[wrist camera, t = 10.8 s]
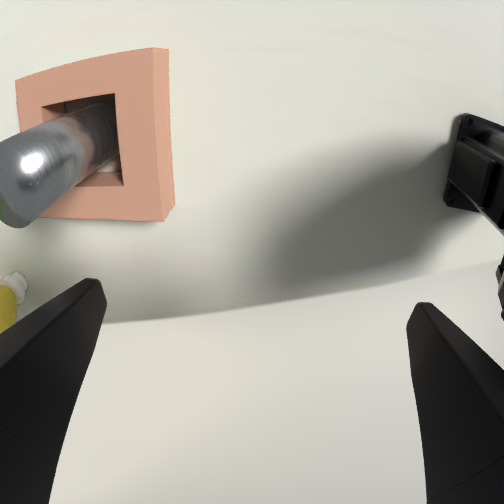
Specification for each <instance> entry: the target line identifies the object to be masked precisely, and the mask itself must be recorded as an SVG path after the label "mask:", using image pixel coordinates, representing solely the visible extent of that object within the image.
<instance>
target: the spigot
mask: <svg viewBox="0 0 504 504" xmlns="http://www.w3.org/2000/svg"><path fill="white" fill-rule="evenodd" d="M119 153H120V150H119V141H118V130H117V118H116V108H114V107H113V106H111V105H109V104H106V103H96V104H92V105H89V106H86V107H83V108H80V109H78V110H75V111H72V112H69V113H67V114H64V115H61V116H59V117H56V118H53V119H51V120H48V121H46V122H44V123H41V124H39V125H36V126H34V127H32V128H29V129H27V130H25V131H23V132H21V133H18V134H16V135H14V136H12V137H10V138H8V139H6V140H4V141H2V142H0V220H1V221H2V222H3V223H5V224H6V225H8V226H10V227H14V228H23V227H26V226H27V225H29V224H30V223H31V222H32V221H33V220H34V219H36V218H37V217H38V216H39V215H40V214H41V213H43V212H44V211H45V210H46V209H47V208H48V207H50V206H51V205H52V204H53V203H54V202H56V201H57V200H58V199H59V198H60V197H62V196H63V195H64V194H65V193H67V192H68V191H69V190H71V189H72V188H73V187H74V186H76V185H77V184H78V183H80V182H81V181H82V180H84V179H85V178H86V177H88V176H89V175H90V174H92V173H93V172H94V171H96V170H97V169H98V168H100V167H101V166H103V165H104V164H105V163H107V162H108V161H110V160H111V159H113V158H114V157H115V156H117V155H118V154H119Z"/></svg>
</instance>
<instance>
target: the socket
mask: <svg viewBox="0 0 504 504" xmlns="http://www.w3.org/2000/svg"><path fill="white" fill-rule="evenodd" d="M15 86H16V98H17V108H18V117H19V125H20V132H23V131H25V130H27V129H29V128H32V127H34V126H36V125H39V124H41V123H44V122H46V121H48V120H51V119H53V118H56V117H59V116H61V115H64V114H65V109H64V101H69V100H74V99H80V98H85V97H91V96H98V95H104V94H111V93H115V104H116V118H117V130H118V141H119V150H120V159H121V167H122V172H99V173H92V174H90V175H89V176H88V177H86V178H85V179H84V180H82V181H81V182H80V183H78V184H77V185H76V186H74V187H73V188H72V189H71V190H69V191H68V192H67V193H65V194H64V195H63V196H62V197H60V198H59V199H58V200H57V201H56V202H54V203H53V204H52V205H51V206H50V207H48V208H47V209H46V210H45V211H44V212H43V213H41V214H40V215H39V217H41V218H78V219H107V220H132V221H154V222H164V220H165V218H166V217H167V215H168V214H169V212H170V211H171V209H172V208H173V206H174V205H175V196H174V183H173V169H172V153H171V134H170V109H169V49H164V48H145V49H138V50H132V51H125V52H120V53H114V54H109V55H104V56H99V57H94V58H90V59H85V60H81V61H77V62H73V63H69V64H65V65H62V66H58V67H55V68H51V69H48V70H45V71H41V72H38V73H35V74H32V75H29V76H26V77H23V78H21V79H18V80H15Z"/></svg>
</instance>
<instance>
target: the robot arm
mask: <svg viewBox="0 0 504 504" xmlns="http://www.w3.org/2000/svg"><path fill="white" fill-rule="evenodd" d="M468 119H470V123H469V124H467V120H468ZM450 197H452V199H451V200H450V201H449V198H450ZM443 201H444V203H445V204H446V205H447V206H448V207H453V208H458V209H464V210H470V211H475V212H481V213H482V214H483V215H484V216H485V217H486V218H487V219H488V220H489V221H490V222H491V223H492V224H493V225H494V226H495V227H496V228H497V229H498V230H499V232H500V233H501V234H502V235H503V236H504V126H502V125H499V124H496V123H494V122H491V121H489V120H486V119H483V118H480V117H478V116H475V115H472V114H469V113H465V114H463V115H462V117H461V122H460V128H459V133H458V138H457V142H456V143H455V148H454V152H453V157H452V161H451V165H450V170H449V174H448V182H447V185H446V189H445V193H444V196H443ZM496 277H497V280H498V284H499V289H498V296H499V299H500V303H501V306H502V309H503V310H502V312H501V317H502V319H503V321H504V256H503V259H502V262H501V264H500V265H499V266H498V268H497V271H496ZM106 307H107V301H106V298H105V295H104V291H103V288H102V285H101V282H100V281H99V280H98V279H93V278H85V279H84V280H82V281H80V282H79V283H77V284H75V285H74V286H72V287H71V288H69V289H67V290H66V291H64V292H63V293H61V294H59V295H58V296H56V297H55V298H53V299H52V300H50V301H48V302H47V303H45V304H44V305H42V306H41V307H39V308H38V309H36V310H35V311H33V312H32V313H30V314H28V315H27V316H25V317H24V318H22V319H21V320H19V321H18V322H17V323H15V324H14V325H12V326H11V327H9V328H8V329H6V330H5V331H3V332H2V333H0V504H49V499H50V494H51V490H52V485H53V481H54V477H55V473H56V467H57V464H58V460H59V456H60V453H61V449H62V445H63V442H64V438H65V435H66V432H67V428H68V425H69V422H70V418H71V415H72V412H73V409H74V406H75V403H76V399H77V397H78V394H79V391H80V388H81V385H82V382H83V380H84V377H85V374H86V371H87V368H88V365H89V363H90V360H91V358H92V355H93V352H94V349H95V345H96V342H97V338H98V335H99V331H100V328H101V324H102V321H103V318H104V314H105V311H106ZM406 331H407V339H408V347H409V357H410V368H411V376H412V382H413V388H414V393H415V398H416V405H417V411H418V417H419V424H420V432H421V440H422V448H423V457H424V467H425V479H426V495H427V504H504V370H503V369H502V368H501V367H500V366H499V365H498V364H497V363H496V362H495V361H494V360H493V359H492V358H491V357H490V356H489V355H488V354H487V353H485V352H484V351H483V350H482V349H481V348H480V347H479V346H478V345H477V344H476V343H475V342H474V341H473V340H472V339H470V337H469V336H467V335H466V334H465V333H464V332H463V331H462V330H461V329H460V328H459V327H458V326H456V325H455V324H454V323H453V322H452V321H451V320H450V319H449V318H448V317H446V316H445V315H444V314H443V313H442V312H441V311H440V310H439V309H437V308H436V307H435V306H434V305H433V304H432V303H429V302H419V303H417V304H416V306H415V308H414V310H413V312H412V314H411V316H410V318H409V320H408V323H407V328H406Z"/></svg>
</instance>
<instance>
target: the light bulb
mask: <svg viewBox="0 0 504 504" xmlns="http://www.w3.org/2000/svg"><path fill="white" fill-rule="evenodd" d="M27 288H28V283H27V281H26V279H25V278H24V276H23V275H22V274H20V273H19V272H16V271H15V272H13V273H12V274H11V275H5V277H4V278H3V279H2V280H1V281H0V333H2V332H3V331H5V330H6V329H8V328H9V327H11V326H12V325H14V324H15V323H16V305H19V304H21V302H22V301H23V300H24V298H25V296H26V295H25V291H26V289H27Z"/></svg>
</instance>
